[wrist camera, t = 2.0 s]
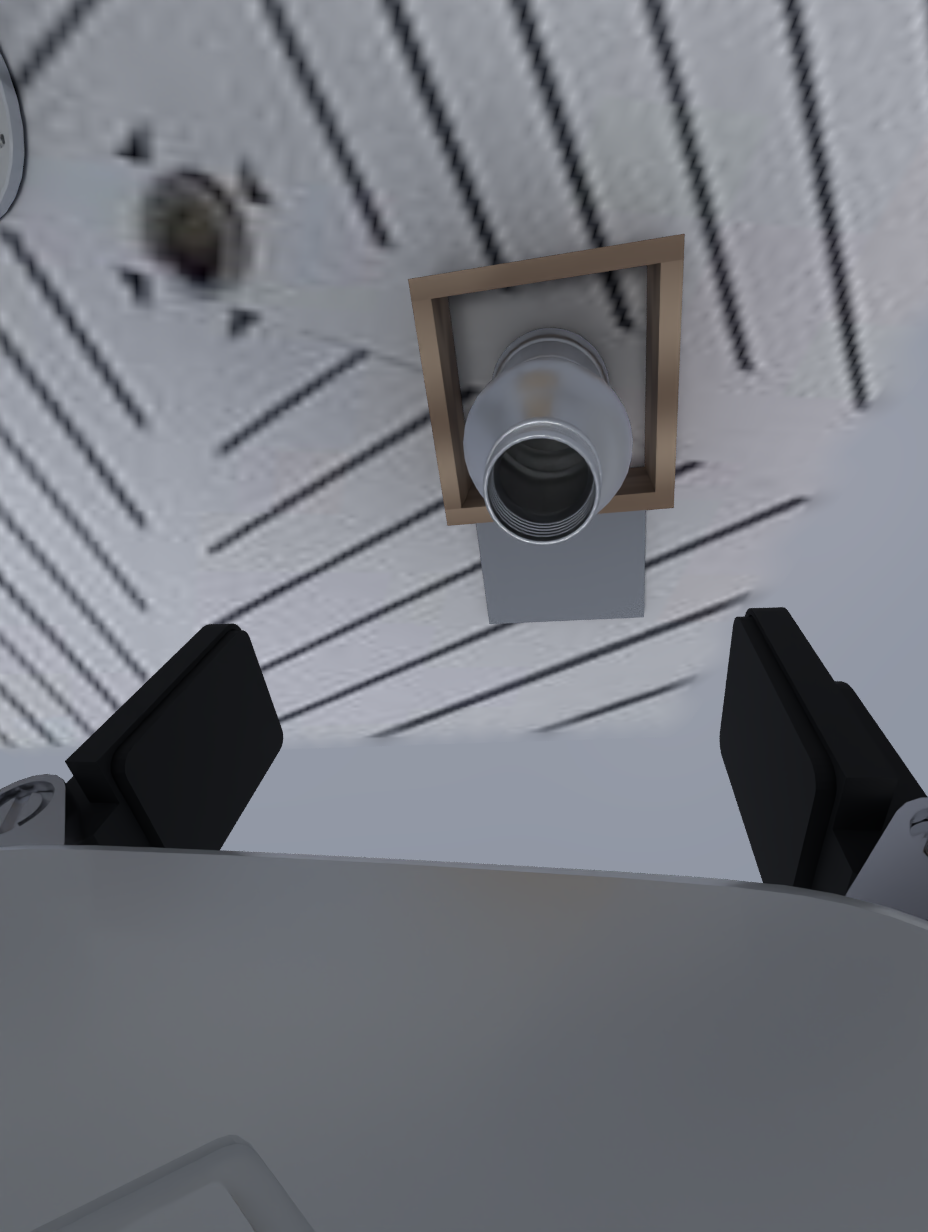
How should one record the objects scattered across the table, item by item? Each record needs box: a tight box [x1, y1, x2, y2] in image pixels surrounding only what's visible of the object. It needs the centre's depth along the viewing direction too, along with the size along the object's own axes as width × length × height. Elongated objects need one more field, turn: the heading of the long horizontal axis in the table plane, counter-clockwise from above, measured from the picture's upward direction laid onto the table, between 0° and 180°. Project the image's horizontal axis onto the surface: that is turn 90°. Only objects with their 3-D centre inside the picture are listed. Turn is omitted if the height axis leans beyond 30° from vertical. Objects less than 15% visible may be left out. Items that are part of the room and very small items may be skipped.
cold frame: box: [408, 234, 685, 526], centre depth 33 cm, size 13×13×5 cm
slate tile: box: [476, 510, 646, 624], centre depth 40 cm, size 8×11×1 cm
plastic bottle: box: [463, 328, 633, 545], centre depth 26 cm, size 6×7×20 cm
